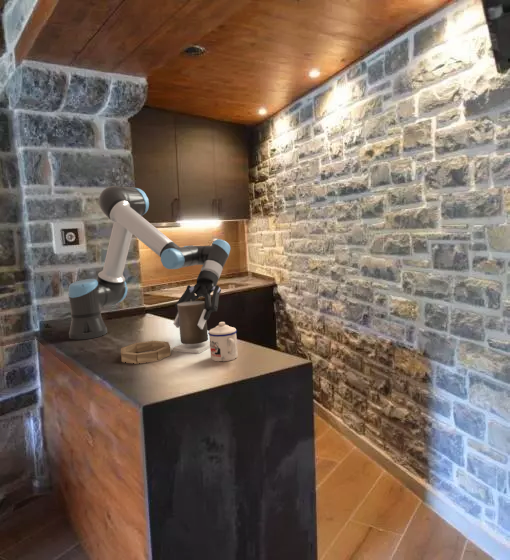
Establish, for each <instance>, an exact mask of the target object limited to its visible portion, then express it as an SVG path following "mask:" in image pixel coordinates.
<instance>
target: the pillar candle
mask: <svg viewBox="0 0 510 560" xmlns="http://www.w3.org/2000/svg"><path fill="white" fill-rule="evenodd" d="M177 306H178V309H177V311H178V317H179V328H178V329H179V336H180V343H181V344H198V343H202V342H205V341H208V340H209V337H208V336H209V334H208V333H209V332H208V324H207V323H208V322H207V321H208V320H206V322H205V325H204V327H203V329H200V328H199V327H198V325H197V324H198V322H199V320H200V317H201V315H202V312H203V310H204V309H206V308H205V307H206V303H205V300H195V301H188V302H182V303H179V304H177Z"/></svg>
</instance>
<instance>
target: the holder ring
mask: <svg viewBox="0 0 510 560" xmlns="http://www.w3.org/2000/svg"><path fill="white" fill-rule="evenodd" d="M171 355H172V353H171V345H170V342H169V341H163V340H162V341H161V340H147V341H139V342H134V343H130V344H129V345H126V346H123V347H120V359H121V362H122V363H125V362H126V363H125V364H133V363H134V365H135V364H136V365H138V364H139V363H140V364H146V362H147V363H153V362H158V361H161V360H164V359H165V358H168V357H170V356H171ZM157 360H158V361H157Z"/></svg>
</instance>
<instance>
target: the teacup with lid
mask: <svg viewBox="0 0 510 560" xmlns="http://www.w3.org/2000/svg"><path fill="white" fill-rule="evenodd" d="M237 332H238V330H237V329H236V327H234V326H233V327H232V326H229V325H228V324H226V322H225V321H220V322H219V323H218V325H216V326H215V327H213V328H210V329H209V330H208V332H207V333H208V336H209V337H208V340H209V341H210V348H209V350H210V359H211V360H212V361H215V362H219V361H223V362H229V361H233V360H236V359H237V358H238V357H239V354H238V340H237V339H238V338H237ZM235 358H236V359H235Z"/></svg>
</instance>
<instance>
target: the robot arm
mask: <svg viewBox="0 0 510 560" xmlns="http://www.w3.org/2000/svg"><path fill="white" fill-rule="evenodd" d="M149 201H150V200H149V198H148V196H147V194H146V193H145V191H144V190H143V189H141V188H138V187H134V186H117V185H112V186H108V187H106V188H104V189H103V190H102V191H101V193H100V195H99V198H98V205H99V208H100V210H101V211H102V213H103V214H104V215H105V216H106V217H107V218H108V219H109V220H111V221H112V222H113V224H112V229H111V233H110V237H109V243H108V247H107V250H106V255H105V259H104V264H103V268H102V270H101V271H99V272H98V274H97V278H86V279H80V280H78V281H77V280H76V281H74V282H72V283H70V284H69V285H68V300H69V305H70V306H69V307H70V316H71V321H70V327H69V331H68V336H69V337H68V338H69V339H70V340H75V341H76V340H87V339H93V338H94V339H95V338H99V337H102V335H103V336H105V335H107V334H108V327H107V325H106V324H105V322H104V319H103V317H102V312H101V308H104V307H108V306H110V305H111V306H113V305H116V304H118V303H121V302H122V301H123V300H125V298H126V297H127V295H128V289H129V288H128V284H127V282H126V277H125V276H124V271H125V266H126V263H127V259H128V255H129V251H130V250H129V249H130V247H131V242H132V238H133V236H135V238H136V239H138V240H139V241H141V242H142V243H143V244H144V245H146V247H147V248H149V249H150V250H151V251H153V252H154V253H155V254H156V255H157V256H158V257H160V261H161V264H162V266H163V267H164V268H165V269H166V270H179V269H182V268H187V267H193V266H201V265H202V266H201V269H200V272H199V274H198V275H197V278H196V283H195V284H194V286H193V285H192V286H191V285H190V284H188V285H187V286H186V288H185V290H184V292H183V294H181V296H180V297H179V299H178V301H177V302H176V304H175V305H174V307H175V308H176V309H177V312H176V313H175V319H174V321H173V324H172V325H174V326H175V328H178V329H180V328H179V317H178V306H177V304H179V303H182V302H188V301H197V300H198V299H199V298H204V302H205V309H204V310H203V312H202V315H201V317H200V320H199V322H198V324H197V325H198V327H199V328H200V329H203V327H204V325H205V322H206V321H209V319H210V316H211V313H213V312H215V313H216V312H218V307H219V299H220V294H221V292H222V289H221V287H220V286H219V285H218V282H219V279H220V277H221V276H222V275H221V274H222V272H223V269H224V267H225V265H226V262H227V260H228V259H229V257H230V252H231V245H230V244H229V242H227V241H225V240H224V239H219V238H218V239H215V240H213V242H212V243H211V245H183V246H182V247H180V245H178V244H177V243H175V242H174V241H173V240H171V239H170V238H168V236H167V235H165V234H164V233H163V232H162V231H160V230H159V229H158V228H157V227H155V226H154V225H153V224H152V223H150V222H149V221H148V220H147V219H145V218H144V217H143V215H145V214H146V213H147V212H148V210H149V206H150V202H149ZM211 293H212V295H211ZM106 333H107V334H106Z"/></svg>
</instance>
